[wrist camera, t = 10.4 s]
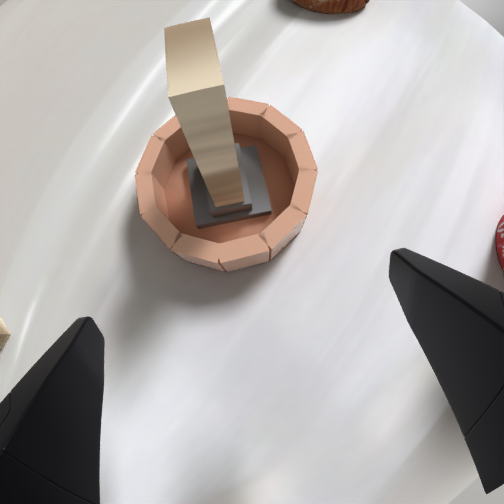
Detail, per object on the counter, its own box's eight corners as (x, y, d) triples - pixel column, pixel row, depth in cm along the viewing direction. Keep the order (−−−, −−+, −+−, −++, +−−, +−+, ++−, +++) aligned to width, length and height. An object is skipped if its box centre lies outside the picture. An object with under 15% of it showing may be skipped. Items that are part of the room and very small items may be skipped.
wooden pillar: (271, 214, 22) (278, 87, 9) (198, 229, 22) (121, 122, 9) (256, 150, 23) (247, 5, 10) (188, 164, 23) (126, 32, 10)
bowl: (225, 304, 21) (217, 301, 18) (126, 194, 23) (106, 175, 19) (339, 192, 22) (351, 171, 19) (233, 103, 24) (229, 75, 21)
